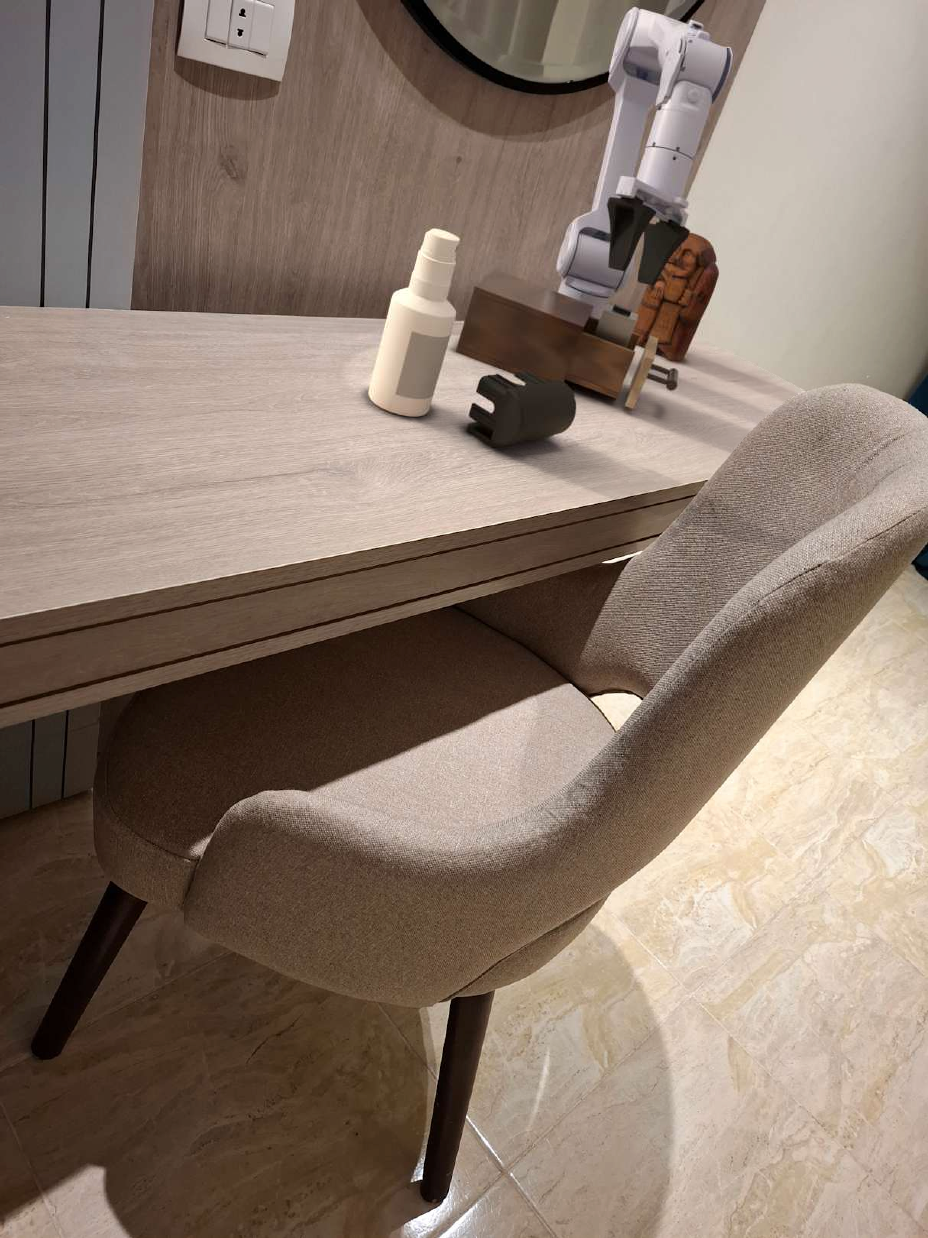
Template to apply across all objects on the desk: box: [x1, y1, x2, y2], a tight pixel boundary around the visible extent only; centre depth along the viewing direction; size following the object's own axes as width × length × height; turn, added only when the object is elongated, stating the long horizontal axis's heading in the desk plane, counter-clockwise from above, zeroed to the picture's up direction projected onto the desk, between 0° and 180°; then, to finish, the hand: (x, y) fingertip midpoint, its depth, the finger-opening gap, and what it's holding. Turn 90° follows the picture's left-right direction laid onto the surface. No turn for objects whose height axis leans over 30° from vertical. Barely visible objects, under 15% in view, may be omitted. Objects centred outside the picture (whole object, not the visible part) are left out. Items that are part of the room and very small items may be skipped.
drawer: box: [565, 316, 679, 410], centre depth 120 cm, size 18×11×7 cm, turn 76°
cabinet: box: [455, 268, 594, 383], centre depth 121 cm, size 15×13×9 cm
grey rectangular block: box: [594, 302, 638, 348], centre depth 119 cm, size 4×4×9 cm
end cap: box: [466, 370, 577, 449], centre depth 97 cm, size 10×7×7 cm
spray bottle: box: [368, 228, 461, 417], centre depth 93 cm, size 7×7×18 cm
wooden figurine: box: [633, 232, 720, 361], centre depth 144 cm, size 12×6×18 cm, turn 49°
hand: (631, 276), depth 108 cm, fingers open, 7 cm apart
